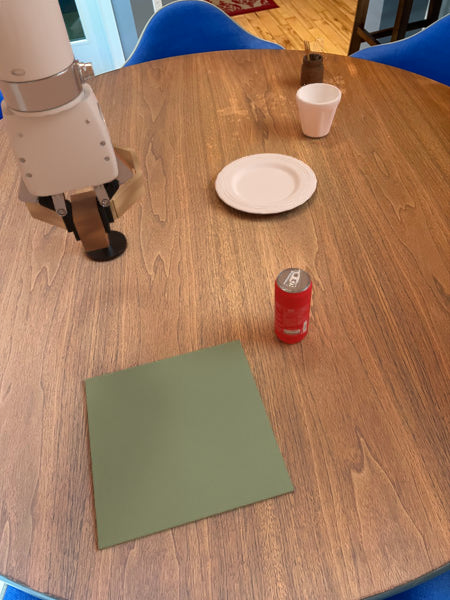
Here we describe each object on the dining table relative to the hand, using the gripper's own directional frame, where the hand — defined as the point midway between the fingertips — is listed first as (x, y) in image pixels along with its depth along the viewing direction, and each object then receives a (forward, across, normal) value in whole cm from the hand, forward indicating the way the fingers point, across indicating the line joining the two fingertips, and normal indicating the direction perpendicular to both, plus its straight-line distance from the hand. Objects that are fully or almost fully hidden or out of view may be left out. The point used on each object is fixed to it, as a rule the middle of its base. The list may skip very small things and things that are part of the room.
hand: (92, 229), depth 60 cm
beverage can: (+22, -24, +8) cm, 34 cm away
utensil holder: (+22, -60, -68) cm, 93 cm away
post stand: (+22, +1, -23) cm, 32 cm away
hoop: (+1, 0, -8) cm, 8 cm away
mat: (+22, -4, +18) cm, 29 cm away
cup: (+22, -51, -46) cm, 72 cm away
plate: (+22, -33, -29) cm, 49 cm away
